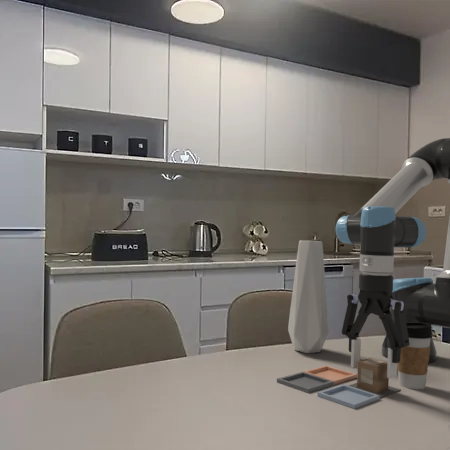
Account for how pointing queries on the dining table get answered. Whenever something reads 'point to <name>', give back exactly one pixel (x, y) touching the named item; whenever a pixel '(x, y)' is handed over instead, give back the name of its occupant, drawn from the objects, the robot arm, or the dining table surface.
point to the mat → (382, 393)
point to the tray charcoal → (305, 382)
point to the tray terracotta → (332, 374)
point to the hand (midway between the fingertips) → (373, 371)
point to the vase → (309, 300)
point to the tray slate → (348, 396)
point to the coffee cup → (415, 356)
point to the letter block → (372, 375)
